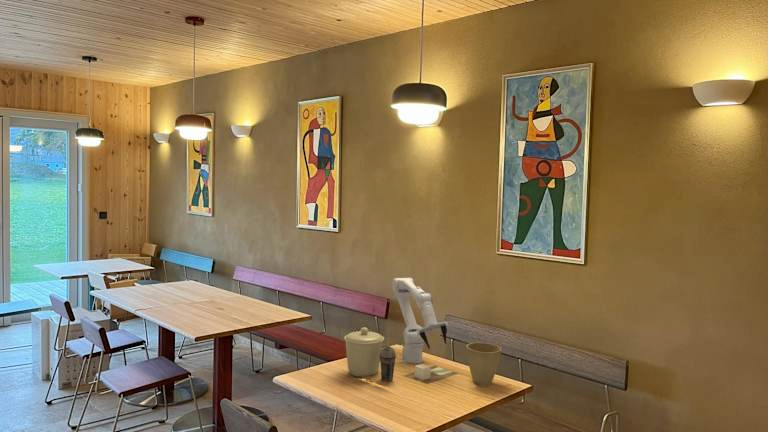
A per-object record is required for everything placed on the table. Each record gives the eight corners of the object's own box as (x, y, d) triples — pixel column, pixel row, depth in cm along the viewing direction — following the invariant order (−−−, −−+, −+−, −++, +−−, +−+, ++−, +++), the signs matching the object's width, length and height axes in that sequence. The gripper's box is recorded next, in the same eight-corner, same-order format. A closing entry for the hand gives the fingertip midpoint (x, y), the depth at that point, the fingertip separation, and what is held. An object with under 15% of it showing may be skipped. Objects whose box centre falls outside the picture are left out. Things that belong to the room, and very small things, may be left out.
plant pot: (461, 385, 239) (462, 349, 238) (470, 375, 252) (471, 340, 252) (495, 391, 233) (497, 354, 232) (503, 381, 246) (504, 345, 245)
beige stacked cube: (414, 377, 244) (414, 365, 244) (421, 374, 248) (422, 363, 248) (422, 380, 241) (423, 368, 241) (430, 377, 244) (430, 366, 244)
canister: (340, 368, 258) (342, 323, 257) (379, 366, 261) (380, 322, 260) (345, 381, 240) (347, 333, 239) (386, 379, 244) (388, 332, 243)
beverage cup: (396, 380, 243) (397, 334, 243) (394, 385, 236) (396, 339, 235) (379, 379, 244) (380, 334, 243) (377, 384, 237) (378, 338, 236)
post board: (402, 378, 246) (403, 367, 246) (434, 368, 261) (435, 358, 261) (427, 386, 236) (427, 375, 236) (458, 375, 252) (459, 365, 251)
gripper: (412, 318, 250) (420, 347, 243) (443, 309, 250) (452, 337, 242) (415, 324, 256) (422, 352, 249) (445, 315, 256) (453, 343, 248)
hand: (437, 345), depth 246 cm, fingers open, 7 cm apart
